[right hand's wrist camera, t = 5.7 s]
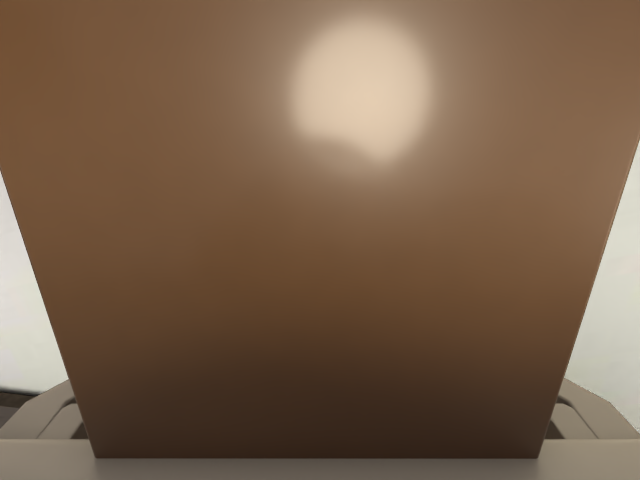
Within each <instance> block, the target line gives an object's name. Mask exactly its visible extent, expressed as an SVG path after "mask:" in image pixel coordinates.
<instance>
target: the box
mask: <svg viewBox="0 0 640 480" xmlns="http://www.w3.org/2000/svg"><path fill="white" fill-rule="evenodd" d="M639 140H640V0H0V171H1V174H2V177H3V180H4V183H5V186H6V189H7V192H8V195H9V198H10V201H11V204H12V207H13V210H14V213H15V217H16V220H17V223H18V226H19V229H20V232H21V235H22V238H23V241H24V244H25V247H26V250H27V253H28V256H29V259H30V262H31V265H32V268H33V271H34V274H35V277H36V280H37V283H38V286H39V289H40V293H41V296H42V299H43V302H44V305H45V308H46V311H47V314H48V317H49V320H50V323H51V326H52V329H53V332H54V335H55V338H56V341H57V344H58V347H59V350H60V353H61V356H62V359H63V362H64V366H65V369H66V372H67V375H68V378H69V381H70V384H71V387H72V390H73V393H74V396H75V399H76V402H77V405H78V408H79V411H80V414H81V417H82V420H83V423H84V426H85V429H86V432H87V435H88V438H89V442H90V445H91V448H92V451H93V454H94V457H95V458H135V459H537V458H538V457H539V454H540V451H541V448H542V445H543V441H544V438H545V435H546V432H547V429H548V426H549V423H550V419H551V416H552V413H553V410H554V407H555V404H556V401H557V397H558V394H559V391H560V388H561V385H562V382H563V379H564V375H565V372H566V369H567V366H568V363H569V360H570V357H571V353H572V350H573V347H574V344H575V341H576V338H577V335H578V331H579V328H580V325H581V322H582V319H583V316H584V313H585V309H586V306H587V303H588V300H589V297H590V294H591V291H592V287H593V284H594V281H595V278H596V275H597V272H598V269H599V265H600V262H601V259H602V256H603V253H604V250H605V247H606V243H607V240H608V237H609V234H610V231H611V228H612V225H613V221H614V218H615V215H616V212H617V209H618V206H619V203H620V199H621V196H622V193H623V190H624V187H625V184H626V181H627V177H628V174H629V171H630V168H631V165H632V162H633V159H634V155H635V152H636V149H637V146H638V143H639Z"/></svg>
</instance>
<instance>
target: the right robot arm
mask: <svg viewBox="0 0 640 480" xmlns="http://www.w3.org/2000/svg"><path fill="white" fill-rule="evenodd" d="M0 480H640V434H639V433H638V432H637V431H636V430H635V429H634V428H633V427H632V425H631V424H630V423H629V422H628V421H627V420H626V419H625V418H624V417H623V416H622V415H621V414H620V413H619V412H618V411H617V409H616V408H615V407H614V406H613V405H612V404H611V403H610V402H608V401H606V400H604V399H603V398H601V397H599V396H597V395H595V394H593V393H591V392H590V391H588V390H586V389H584V388H582V387H580V386H578V385H577V384H575V383H573V382H571V381H569V380H567V379H565V378H564V379H563V382H562V385H561V388H560V391H559V394H558V397H557V401H556V404H555V407H554V410H553V413H552V416H551V419H550V423H549V426H548V429H547V432H546V435H545V438H544V441H543V445H542V448H541V451H540V454H539V457H538V458H537V459H135V458H95V457H94V454H93V451H92V448H91V445H90V442H89V438H88V435H87V432H86V429H85V426H84V423H83V420H82V417H81V414H80V411H79V408H78V405H77V402H76V399H75V396H74V393H73V390H72V387H71V384H70V381H69V379H68V380H66V381H64V382H63V383H61V384H59V385H57V386H55V387H53V388H51V389H49V390H48V391H46V392H44V393H42V394H40V395H38V396H36V397H34V398H32V399H31V400H29V401H27V402H25V403H24V405H23V406H22V407H21V408H20V409H19V410H18V411H17V412H16V413H15V414H14V415H13V416H12V417H11V418H10V419H9V420H8V421H7V422H6V423H5V424H4V425H3V426H2V427H1V428H0Z"/></svg>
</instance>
